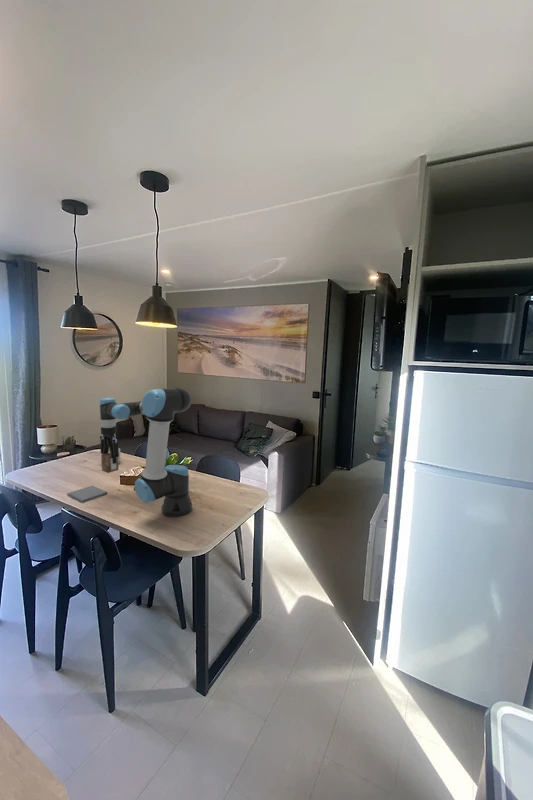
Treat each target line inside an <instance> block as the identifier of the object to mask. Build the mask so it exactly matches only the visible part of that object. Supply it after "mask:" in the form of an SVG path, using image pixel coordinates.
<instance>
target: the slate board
mask: <svg viewBox="0 0 533 800" xmlns="http://www.w3.org/2000/svg"><path fill="white" fill-rule="evenodd" d="M107 495H109V493H108V491H106V490H104V489H102V488H98V487H97V486H94V485H90V486H89V485H88V486H87V487H83V488H80V489H77V490H76V489H75V490H74V491H70V492H67V493H66V496H67V497H70V498H72V499H73V500H75V501H77V502H79V503H81V504H84V503H87V502H89V501H92V500H95V499H97V498H101V497H104V496H107Z"/></svg>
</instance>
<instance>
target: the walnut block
mask: <svg viewBox="0 0 533 800" xmlns="http://www.w3.org/2000/svg"><path fill="white" fill-rule="evenodd" d="M100 457H101V459H100V460H101V472H104V473H107V474H109V473H113V472H116V471H119V464H118V457H116V469H113V470H111V459H110V458H111V453H106V454H101V455H100Z"/></svg>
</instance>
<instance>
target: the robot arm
mask: <svg viewBox="0 0 533 800" xmlns="http://www.w3.org/2000/svg"><path fill="white" fill-rule="evenodd" d="M191 405H192V396H191V394H190V392H188V390H187V389H185V388H182V387H171V388H169V387H168V388H156V389H155V388H154V389H150V390H148V391H147V392H145V393H144V395H143V398H142V400H139V401H133V402H132V401H131V402H122V403H121V402H119V403H116V398H114V397H103V398H101V399H99V413H100V414H99V415H100V419H99V420H100V434H101V435H100V436H99V438H100V454H101V455H102V454H106V453H108V450H109V448H110V453H111V458H110V459H111V470H113V469H116V457H119V451H118V448H119V439H118V438H116V436H115V435H116V434H117V419H118V420H125V419H127V418H129V417H137V416H146V419H147V421H149V425H148V435H147V436H148V438H147V446H146V456H145V457H146V458H145V465H144V467H145V468H144V469H143V470H142V471H141V473H140V474H141V478H140V479H138V478H137V479H136V480H135V482H134V487H135V490H134V491H135V493H136V495H137V498H138V499H139V501H141V502H143V503H146V504H147V503H151V502H155V501H157V500H158V499H161V498H164V499H163V503H162V505H161V513H162V514H163V515H164V516H166V517H170V518H171V517H172V518H174V517H176V518H177V517H183V516H185V515H187V514H189V513H190V512H192V510H193V503H192V500H191V497H190V494H189V492H190V491H189V489H190V488H189V487H190V485H189V484H190V482H189V481H190V479H189V478H190V475H189V469H188V467H187V466H185V465H180V464H169V465H166V459H167V451H168V441H169V434H170V424H171V422H173V421H174V419H175V414H179V413H182V412H185V411H187V410H188V409H189V408H190V407H191Z"/></svg>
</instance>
